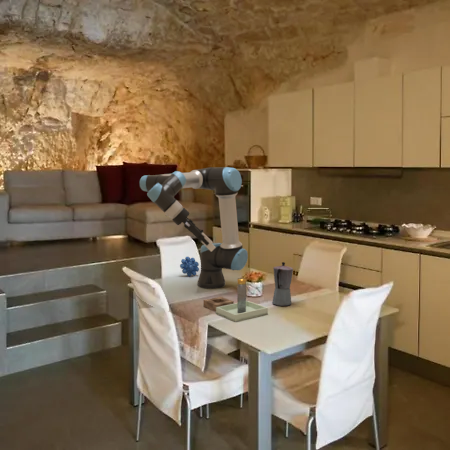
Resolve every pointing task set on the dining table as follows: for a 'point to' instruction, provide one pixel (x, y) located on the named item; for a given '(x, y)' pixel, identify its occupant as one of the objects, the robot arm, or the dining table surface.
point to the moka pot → (282, 285)
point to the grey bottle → (241, 295)
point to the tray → (232, 314)
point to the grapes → (189, 266)
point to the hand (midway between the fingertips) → (212, 246)
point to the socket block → (216, 302)
